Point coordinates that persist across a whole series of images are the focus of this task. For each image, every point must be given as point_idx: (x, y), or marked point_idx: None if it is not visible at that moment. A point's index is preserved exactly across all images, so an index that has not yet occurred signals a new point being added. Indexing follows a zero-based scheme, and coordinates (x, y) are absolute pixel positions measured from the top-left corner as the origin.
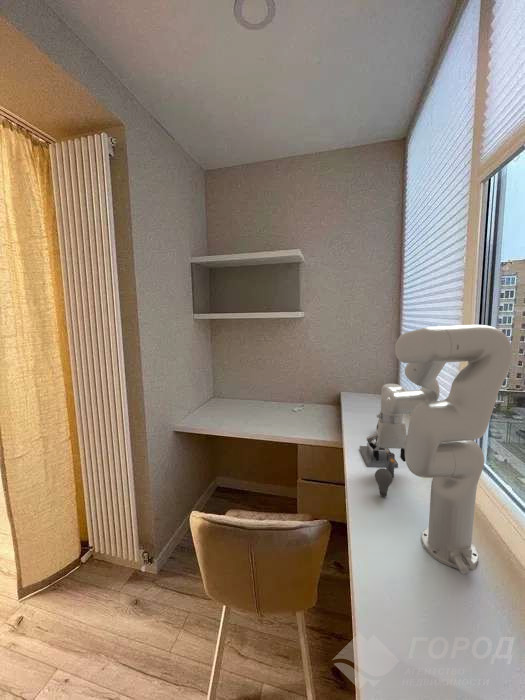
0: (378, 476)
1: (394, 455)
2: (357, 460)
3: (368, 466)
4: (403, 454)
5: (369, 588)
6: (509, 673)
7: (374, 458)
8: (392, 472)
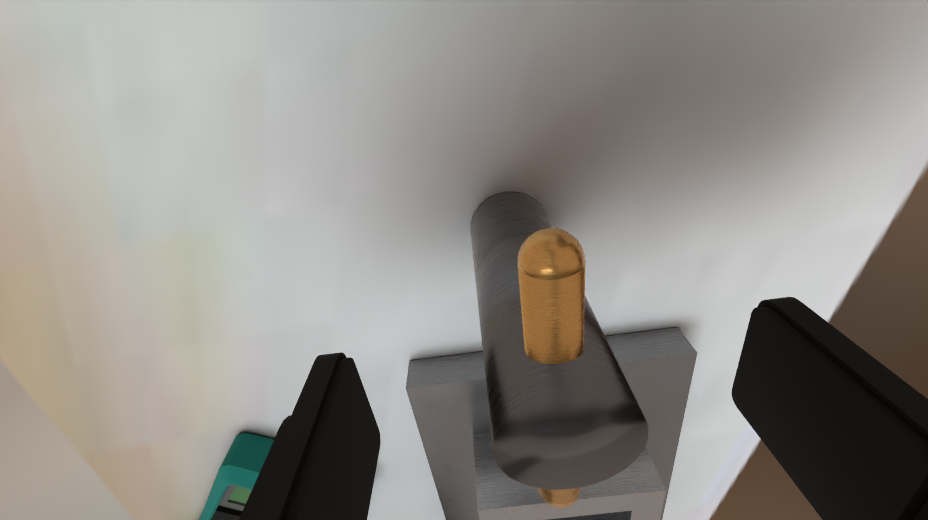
0: None
1: (503, 424)
2: (724, 389)
3: (666, 329)
4: (314, 472)
5: None
6: None
7: None
8: (499, 224)
